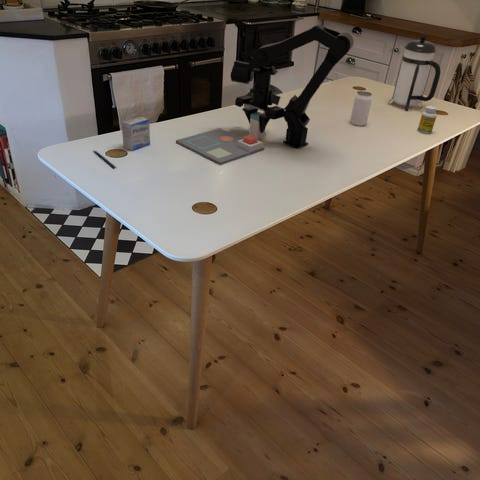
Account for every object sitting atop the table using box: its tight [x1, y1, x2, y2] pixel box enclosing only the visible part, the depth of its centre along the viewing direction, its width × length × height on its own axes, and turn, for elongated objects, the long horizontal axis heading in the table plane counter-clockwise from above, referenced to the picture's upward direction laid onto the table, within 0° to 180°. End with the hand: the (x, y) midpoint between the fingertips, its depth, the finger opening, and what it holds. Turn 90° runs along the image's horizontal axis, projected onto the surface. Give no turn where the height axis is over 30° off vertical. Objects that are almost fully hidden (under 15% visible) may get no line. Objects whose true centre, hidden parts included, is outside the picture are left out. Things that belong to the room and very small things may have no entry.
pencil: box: [93, 150, 117, 170], centre depth 140 cm, size 1×1×15 cm
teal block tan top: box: [248, 111, 267, 140], centre depth 163 cm, size 4×4×8 cm
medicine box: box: [120, 116, 151, 152], centre depth 148 cm, size 8×4×9 cm, turn 143°
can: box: [349, 90, 373, 127], centre depth 181 cm, size 6×6×12 cm
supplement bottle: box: [417, 105, 438, 135], centre depth 179 cm, size 5×5×10 cm
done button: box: [243, 134, 258, 145], centre depth 153 cm, size 3×3×2 cm
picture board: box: [175, 127, 265, 166], centre depth 155 cm, size 22×20×3 cm
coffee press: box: [388, 34, 441, 112], centre depth 199 cm, size 17×16×30 cm
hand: (257, 130), depth 164 cm, fingers closed on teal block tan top, 4 cm apart
